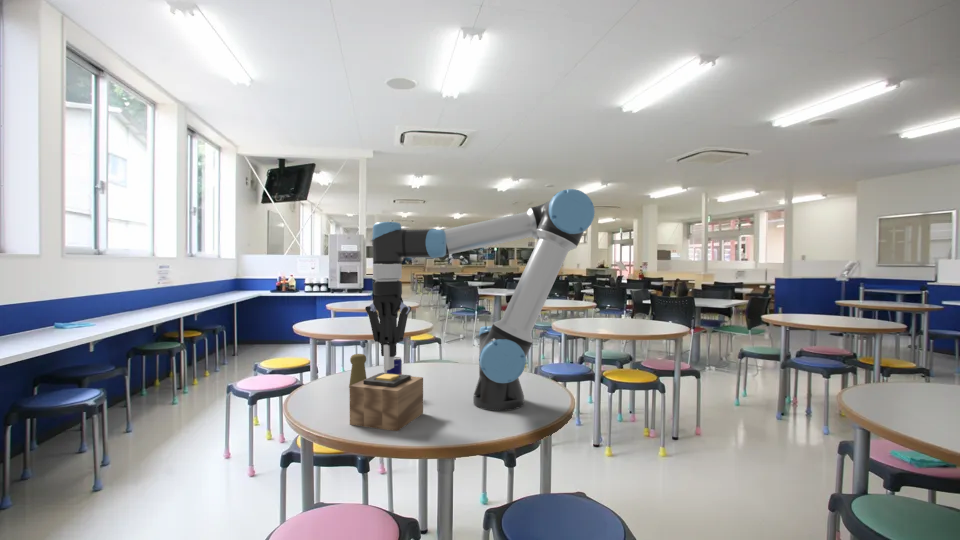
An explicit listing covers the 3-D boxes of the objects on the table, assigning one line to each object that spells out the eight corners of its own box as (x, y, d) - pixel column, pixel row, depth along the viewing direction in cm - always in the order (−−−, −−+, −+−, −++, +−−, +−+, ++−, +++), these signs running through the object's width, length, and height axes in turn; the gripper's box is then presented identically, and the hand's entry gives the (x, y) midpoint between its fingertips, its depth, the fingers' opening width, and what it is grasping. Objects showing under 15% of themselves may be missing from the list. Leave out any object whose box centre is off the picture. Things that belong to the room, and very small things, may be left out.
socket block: (423, 413, 122) (423, 373, 122) (397, 431, 109) (397, 387, 109) (379, 408, 127) (379, 369, 127) (349, 424, 114) (349, 382, 114)
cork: (348, 385, 151) (348, 353, 151) (367, 383, 153) (366, 352, 153) (349, 389, 146) (349, 356, 145) (368, 388, 147) (367, 355, 147)
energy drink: (397, 399, 135) (397, 360, 135) (381, 398, 136) (381, 359, 136) (404, 394, 140) (404, 357, 140) (388, 393, 141) (388, 356, 141)
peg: (399, 408, 119) (399, 375, 119) (390, 413, 115) (390, 378, 115) (385, 406, 121) (384, 373, 121) (376, 411, 117) (376, 377, 117)
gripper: (416, 279, 119) (417, 367, 119) (374, 279, 123) (375, 364, 124) (402, 280, 112) (403, 373, 112) (358, 280, 116) (360, 370, 117)
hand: (389, 368), depth 118 cm, fingers closed
